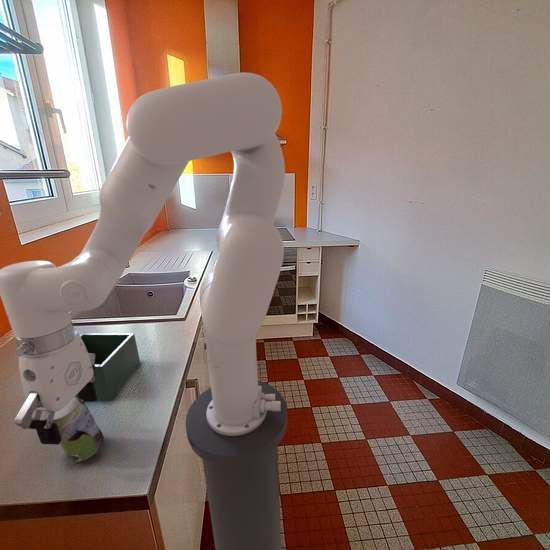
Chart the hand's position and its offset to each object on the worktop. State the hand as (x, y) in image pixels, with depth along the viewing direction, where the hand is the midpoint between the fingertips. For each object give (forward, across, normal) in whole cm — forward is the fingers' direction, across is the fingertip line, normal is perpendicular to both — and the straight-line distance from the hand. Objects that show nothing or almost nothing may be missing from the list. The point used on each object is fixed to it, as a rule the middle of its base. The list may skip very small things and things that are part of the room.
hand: (71, 419), depth 54 cm
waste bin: (+8, +21, +10) cm, 25 cm away
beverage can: (+8, 0, 0) cm, 8 cm away
